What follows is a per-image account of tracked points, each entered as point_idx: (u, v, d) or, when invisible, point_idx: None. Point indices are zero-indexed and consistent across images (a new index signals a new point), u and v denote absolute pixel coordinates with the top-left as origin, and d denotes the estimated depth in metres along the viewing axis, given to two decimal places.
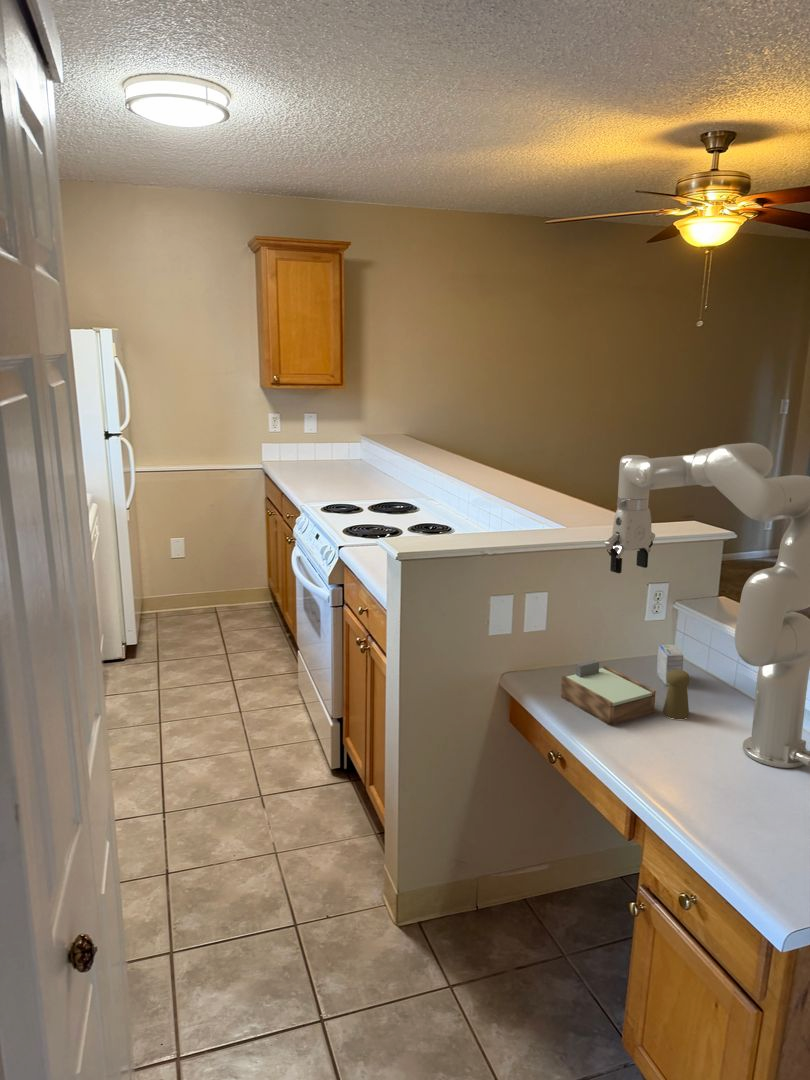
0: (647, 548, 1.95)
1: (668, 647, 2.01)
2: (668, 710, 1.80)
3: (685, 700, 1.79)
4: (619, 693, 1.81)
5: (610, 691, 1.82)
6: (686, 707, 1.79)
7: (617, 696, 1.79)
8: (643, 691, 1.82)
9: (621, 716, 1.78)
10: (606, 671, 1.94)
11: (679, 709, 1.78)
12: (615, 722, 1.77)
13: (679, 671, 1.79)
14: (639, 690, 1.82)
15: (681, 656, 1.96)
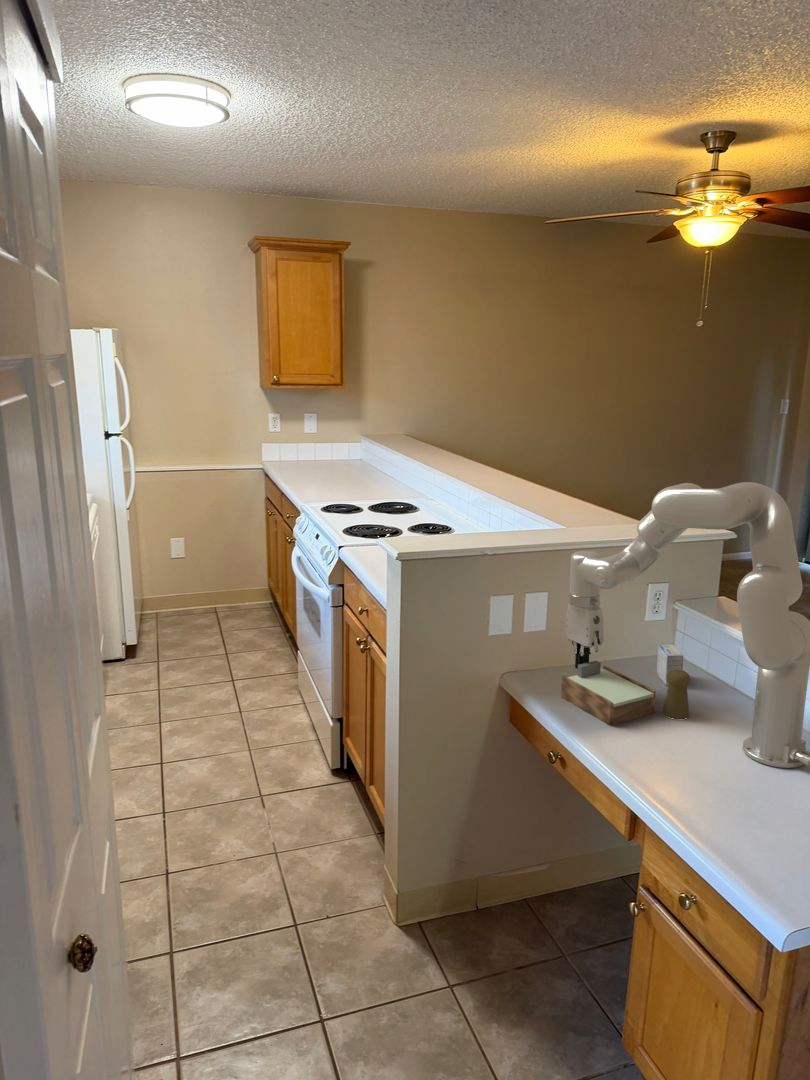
0: None
1: (669, 647, 2.01)
2: (668, 710, 1.80)
3: (685, 700, 1.79)
4: (620, 694, 1.80)
5: (612, 691, 1.82)
6: (686, 707, 1.79)
7: (619, 697, 1.79)
8: (645, 691, 1.82)
9: (621, 716, 1.78)
10: (607, 672, 1.94)
11: (678, 709, 1.78)
12: (615, 722, 1.77)
13: (679, 671, 1.79)
14: (641, 691, 1.82)
15: (681, 656, 1.96)
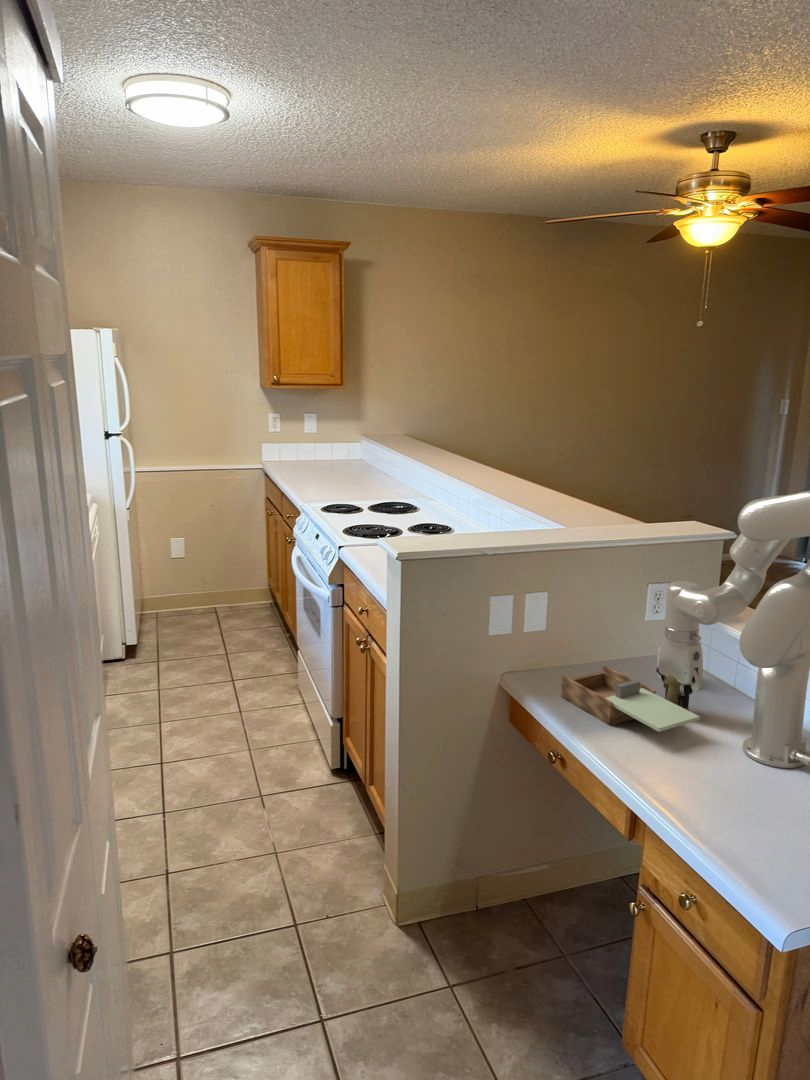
0: None
1: None
2: None
3: None
4: (664, 717, 1.68)
5: (654, 714, 1.70)
6: None
7: (663, 721, 1.66)
8: (690, 714, 1.69)
9: (621, 716, 1.78)
10: (647, 692, 1.81)
11: None
12: (615, 722, 1.77)
13: None
14: (685, 713, 1.70)
15: None
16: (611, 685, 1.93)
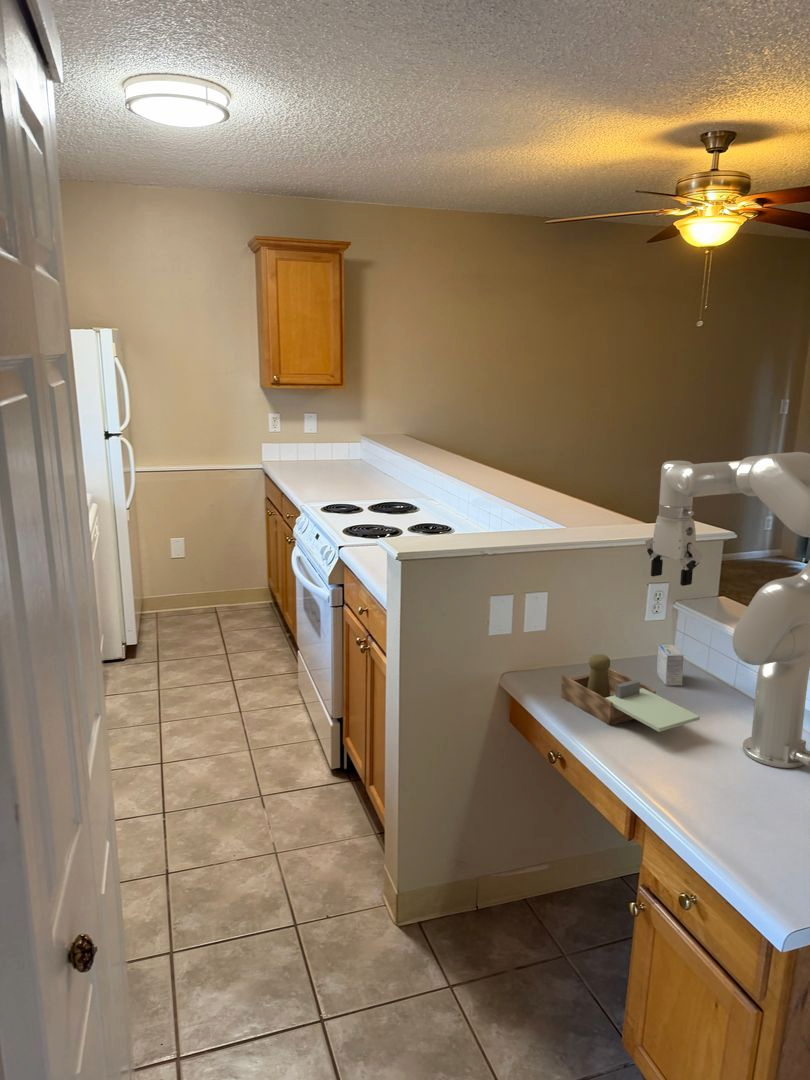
0: None
1: (668, 647, 2.01)
2: None
3: (604, 683, 1.87)
4: (664, 717, 1.68)
5: (654, 714, 1.70)
6: (605, 690, 1.87)
7: (663, 721, 1.66)
8: (690, 714, 1.69)
9: (621, 716, 1.78)
10: (647, 692, 1.81)
11: (597, 691, 1.87)
12: (615, 722, 1.77)
13: (600, 655, 1.88)
14: (685, 713, 1.70)
15: (681, 656, 1.96)
16: (611, 685, 1.93)
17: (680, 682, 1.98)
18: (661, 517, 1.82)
